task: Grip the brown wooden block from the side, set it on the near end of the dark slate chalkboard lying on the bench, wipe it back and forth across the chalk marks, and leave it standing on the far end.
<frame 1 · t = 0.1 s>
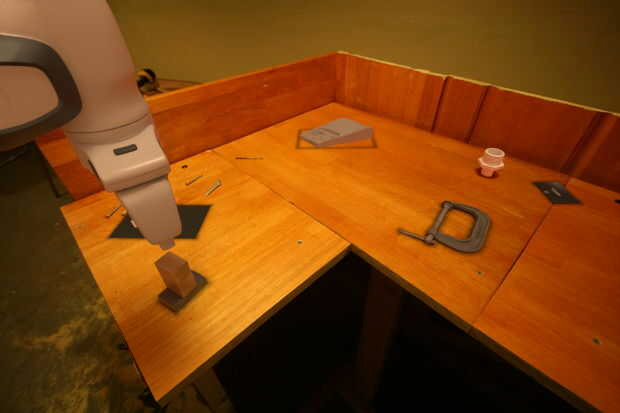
hand: (157, 227, 44), 23 cm above the workbench, tool pointing down, fingers open, 8 cm apart
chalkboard: (163, 222, 80), on the workbench
pipe fitting: (485, 175, 94), on the workbench
solid state drive: (554, 194, 86), on the workbench
ramp: (335, 139, 116), on the workbench
brown wooden block: (185, 293, 63), on the workbench
c clamp: (447, 227, 76), on the workbench
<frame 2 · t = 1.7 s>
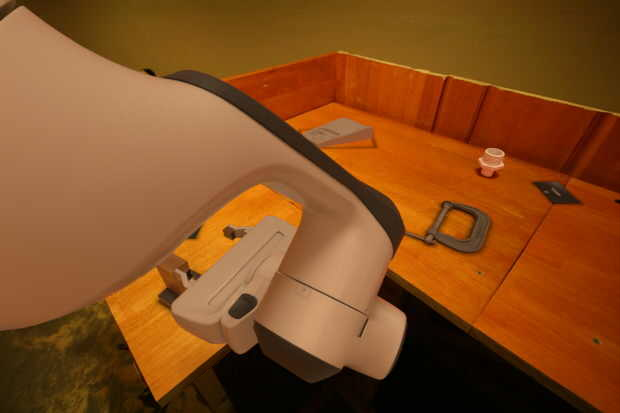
hand: (204, 249, 45), 20 cm above the workbench, tool horizontal, fingers open, 8 cm apart
nothing on the workbench moved.
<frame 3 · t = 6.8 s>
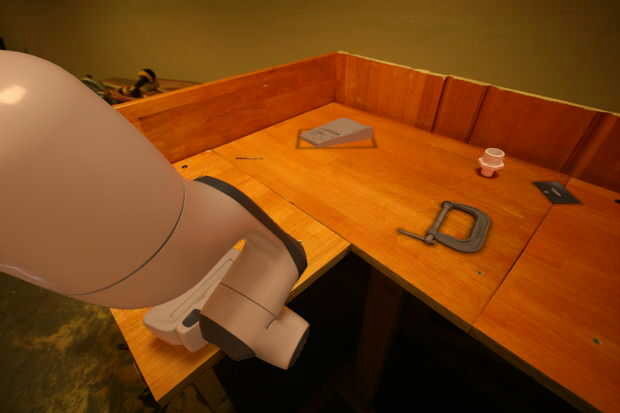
hand: (172, 271, 59), 7 cm above the workbench, tool horizontal, fingers closed on brown wooden block, 3 cm apart
brown wooden block: (185, 293, 63), on the workbench, touching gripper
everything else where it was.
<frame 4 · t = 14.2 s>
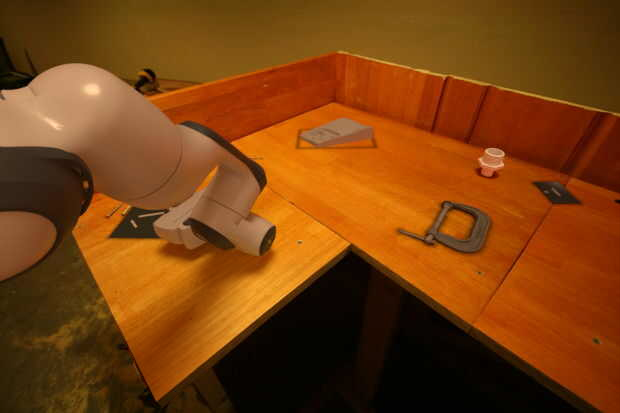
hand: (175, 199, 76), 7 cm above the workbench, tool horizontal, fingers closed on brown wooden block, 3 cm apart
brown wooden block: (185, 220, 80), point 1 cm above the workbench, touching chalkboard, gripper
everything else where it was.
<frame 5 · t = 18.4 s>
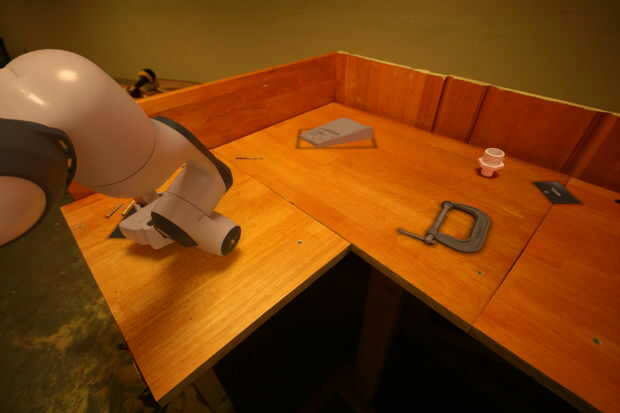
hand: (145, 200, 76), 7 cm above the workbench, tool horizontal, fingers closed on brown wooden block, 3 cm apart
brown wooden block: (163, 220, 78), point 2 cm above the workbench, tilted 25°, touching gripper
everything else where it was.
when the fingers open (7 cm above the workbench, at t = 21.9 s): brown wooden block drops 1 cm, resting on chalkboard.
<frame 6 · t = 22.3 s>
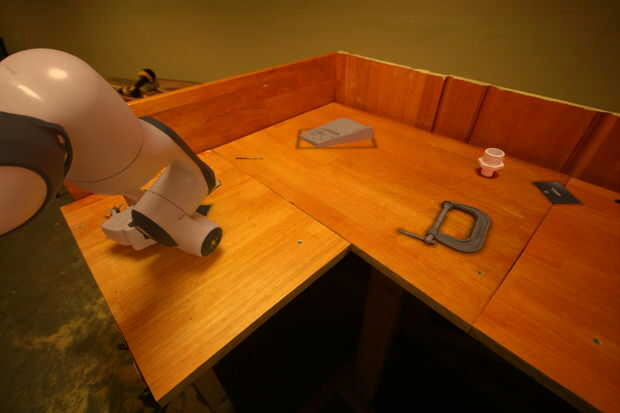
hand: (129, 200, 77), 7 cm above the workbench, tool horizontal, fingers open, 7 cm apart
brown wooden block: (149, 223, 79), point 1 cm above the workbench, touching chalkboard
everything else where it was.
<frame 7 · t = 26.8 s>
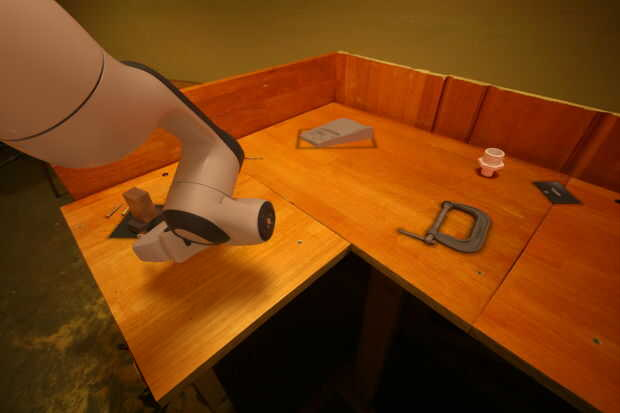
hand: (158, 223, 66), 9 cm above the workbench, tool tilted 70°, fingers open, 8 cm apart
nothing on the workbench moved.
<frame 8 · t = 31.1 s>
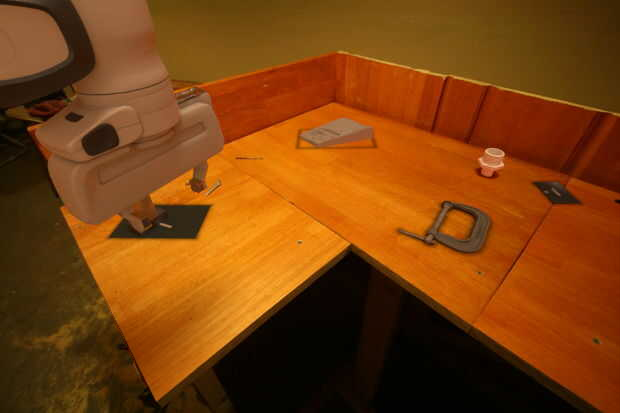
hand: (173, 207, 41), 27 cm above the workbench, tool pointing down, fingers open, 8 cm apart
nothing on the workbench moved.
at the end: brown wooden block inside the target area on the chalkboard (3.5 cm from its centre), point 0.8 cm above the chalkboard's base; brown wooden block tilted 0°; the gripper is holding nothing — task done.
